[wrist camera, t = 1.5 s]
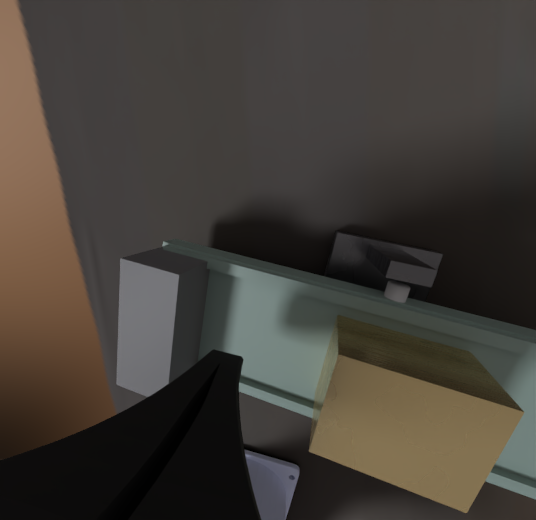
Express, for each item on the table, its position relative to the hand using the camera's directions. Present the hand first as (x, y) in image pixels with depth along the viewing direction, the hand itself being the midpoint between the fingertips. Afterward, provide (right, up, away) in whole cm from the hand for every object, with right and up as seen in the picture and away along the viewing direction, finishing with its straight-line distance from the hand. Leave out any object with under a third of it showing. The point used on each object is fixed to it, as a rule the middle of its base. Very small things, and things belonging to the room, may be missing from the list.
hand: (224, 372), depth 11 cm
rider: (+8, -1, +2) cm, 8 cm away
